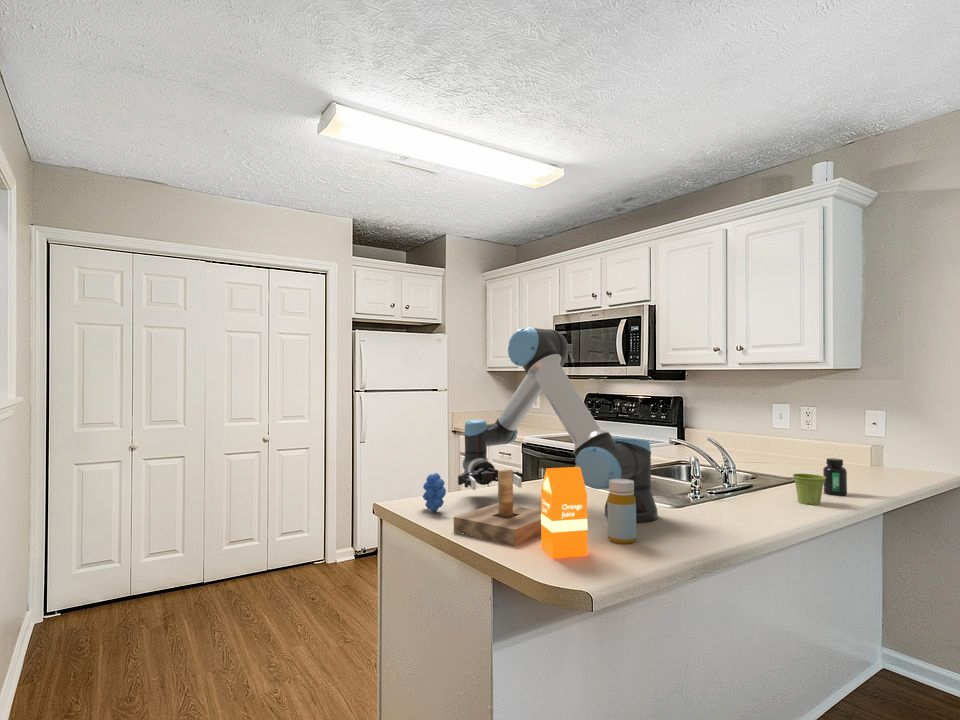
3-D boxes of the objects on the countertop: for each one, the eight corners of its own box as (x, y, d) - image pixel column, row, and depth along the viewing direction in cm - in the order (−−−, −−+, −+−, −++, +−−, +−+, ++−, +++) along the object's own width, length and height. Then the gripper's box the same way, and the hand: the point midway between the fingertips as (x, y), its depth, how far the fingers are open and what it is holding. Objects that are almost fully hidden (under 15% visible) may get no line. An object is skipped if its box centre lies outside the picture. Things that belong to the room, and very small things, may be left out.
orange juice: (541, 548, 137) (540, 465, 138) (575, 545, 139) (574, 464, 140) (552, 559, 130) (551, 471, 130) (588, 555, 132) (587, 469, 132)
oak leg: (516, 529, 154) (515, 470, 154) (507, 532, 151) (507, 472, 151) (504, 526, 157) (503, 468, 157) (495, 530, 153) (494, 470, 154)
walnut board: (556, 527, 155) (556, 513, 155) (515, 545, 140) (515, 529, 140) (498, 516, 168) (497, 503, 168) (453, 531, 152) (453, 516, 152)
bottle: (605, 536, 147) (604, 478, 148) (632, 536, 147) (632, 478, 147) (610, 544, 140) (610, 483, 141) (639, 544, 140) (638, 483, 140)
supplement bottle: (840, 497, 191) (839, 461, 191) (819, 493, 196) (819, 458, 197) (851, 494, 194) (850, 459, 194) (830, 491, 200) (829, 457, 200)
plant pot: (808, 498, 188) (807, 472, 189) (833, 505, 180) (833, 477, 180) (785, 500, 186) (785, 474, 186) (810, 507, 177) (810, 479, 177)
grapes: (456, 513, 172) (455, 473, 172) (436, 516, 168) (436, 476, 168) (437, 506, 181) (436, 468, 182) (418, 509, 178) (418, 470, 178)
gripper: (518, 481, 186) (539, 494, 165) (443, 484, 181) (454, 499, 160) (518, 458, 186) (538, 469, 166) (443, 461, 181) (454, 472, 160)
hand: (497, 484), depth 163 cm, fingers open, 13 cm apart
